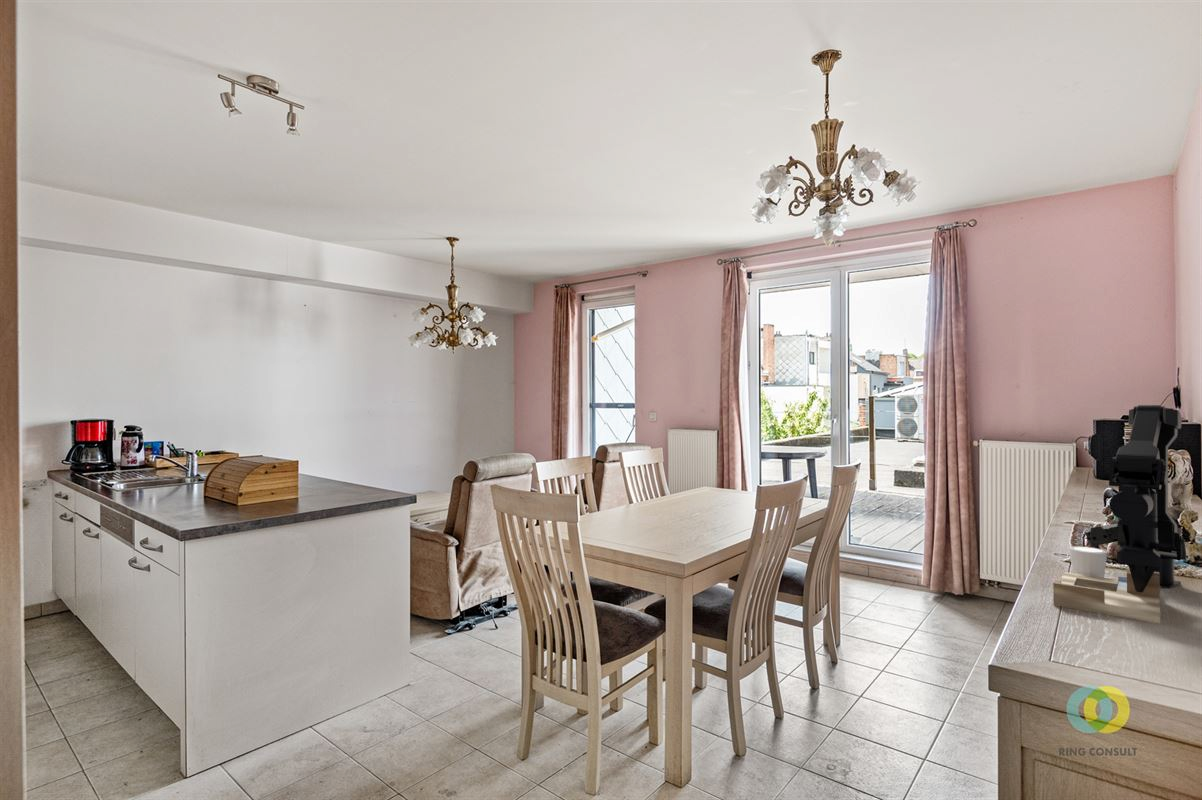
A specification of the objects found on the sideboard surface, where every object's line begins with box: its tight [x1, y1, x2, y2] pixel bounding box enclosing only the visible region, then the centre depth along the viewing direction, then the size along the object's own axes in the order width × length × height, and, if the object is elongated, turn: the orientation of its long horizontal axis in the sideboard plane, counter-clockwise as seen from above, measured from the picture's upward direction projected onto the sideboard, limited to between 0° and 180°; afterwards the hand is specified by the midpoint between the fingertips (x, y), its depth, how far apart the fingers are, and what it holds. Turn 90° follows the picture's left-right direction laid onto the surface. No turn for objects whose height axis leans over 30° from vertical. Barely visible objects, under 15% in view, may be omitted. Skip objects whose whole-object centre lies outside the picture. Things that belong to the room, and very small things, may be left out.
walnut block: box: [1126, 567, 1161, 598], centre depth 126 cm, size 5×5×4 cm
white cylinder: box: [1069, 545, 1108, 578], centre depth 141 cm, size 7×7×7 cm
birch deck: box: [1052, 571, 1161, 625], centre depth 127 cm, size 22×16×4 cm
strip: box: [1117, 575, 1127, 589], centre depth 129 cm, size 8×6×3 cm
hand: (1139, 591), depth 123 cm, fingers closed
